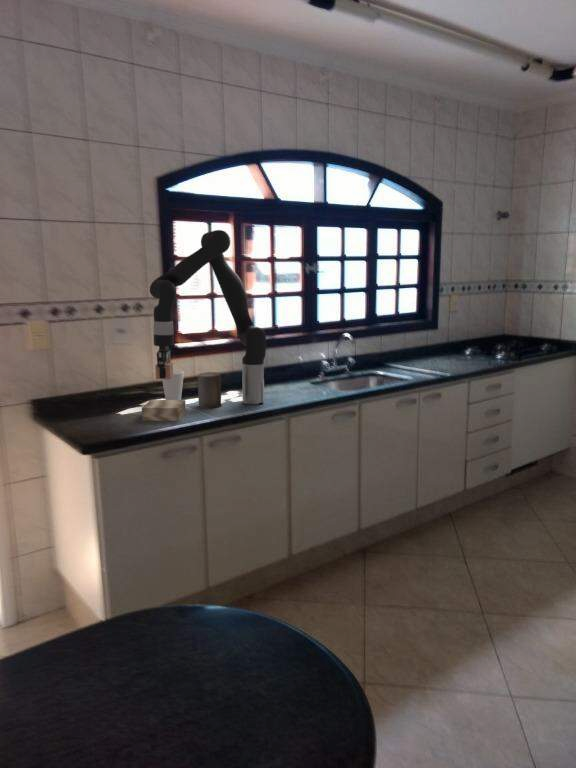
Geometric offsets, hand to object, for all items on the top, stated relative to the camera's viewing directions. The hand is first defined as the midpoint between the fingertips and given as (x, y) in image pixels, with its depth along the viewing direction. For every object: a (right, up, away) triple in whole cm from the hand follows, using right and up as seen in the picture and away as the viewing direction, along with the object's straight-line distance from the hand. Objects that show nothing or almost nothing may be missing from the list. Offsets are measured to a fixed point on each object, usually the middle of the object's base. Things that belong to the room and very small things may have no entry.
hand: (164, 376), depth 222 cm
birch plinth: (-1, -16, +3) cm, 16 cm away
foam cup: (-2, -11, +29) cm, 31 cm away
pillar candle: (+15, -12, +22) cm, 29 cm away
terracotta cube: (0, -1, 0) cm, 1 cm away
